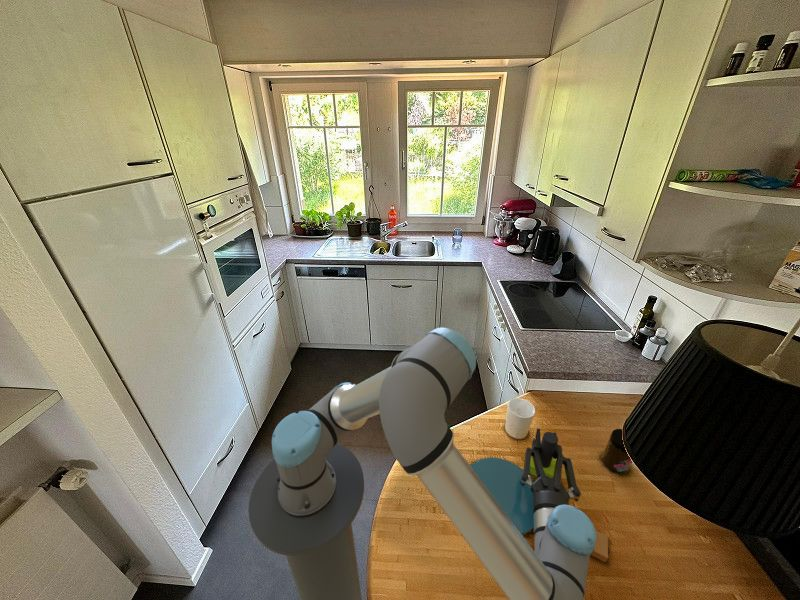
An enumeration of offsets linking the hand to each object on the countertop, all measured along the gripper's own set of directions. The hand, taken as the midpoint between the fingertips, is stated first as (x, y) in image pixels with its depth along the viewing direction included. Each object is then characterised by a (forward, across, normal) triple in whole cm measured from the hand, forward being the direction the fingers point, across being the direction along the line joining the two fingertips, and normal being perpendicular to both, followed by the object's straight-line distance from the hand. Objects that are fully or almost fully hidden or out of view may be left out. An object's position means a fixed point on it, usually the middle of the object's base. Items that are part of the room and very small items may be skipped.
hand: (545, 434), depth 92 cm
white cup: (+6, -7, -8) cm, 12 cm away
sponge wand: (-5, 0, -8) cm, 10 cm away
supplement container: (+3, +20, -8) cm, 22 cm away
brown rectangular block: (-22, +11, -8) cm, 26 cm away
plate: (-17, -10, -8) cm, 21 cm away
